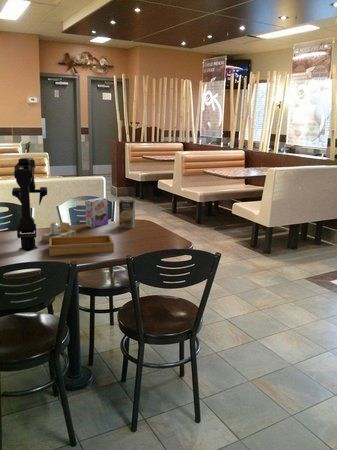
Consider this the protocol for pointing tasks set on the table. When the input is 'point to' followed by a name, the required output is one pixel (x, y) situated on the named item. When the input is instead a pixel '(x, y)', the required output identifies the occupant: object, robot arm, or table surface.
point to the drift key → (64, 226)
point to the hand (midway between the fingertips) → (31, 205)
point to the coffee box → (127, 213)
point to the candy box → (96, 212)
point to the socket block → (61, 234)
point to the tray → (80, 245)
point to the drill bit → (54, 229)
